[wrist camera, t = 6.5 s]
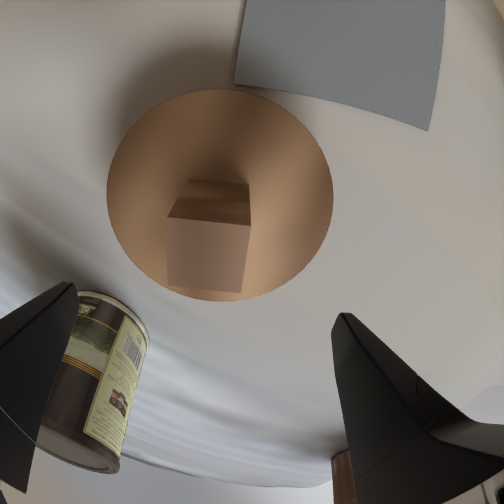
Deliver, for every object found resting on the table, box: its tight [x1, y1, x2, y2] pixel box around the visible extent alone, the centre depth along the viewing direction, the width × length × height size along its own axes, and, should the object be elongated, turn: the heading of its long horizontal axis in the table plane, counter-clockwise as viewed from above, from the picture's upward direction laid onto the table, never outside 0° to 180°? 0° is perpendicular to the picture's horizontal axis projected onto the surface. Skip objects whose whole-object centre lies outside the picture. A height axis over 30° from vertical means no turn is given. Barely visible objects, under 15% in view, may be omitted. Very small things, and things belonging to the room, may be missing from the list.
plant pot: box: [331, 449, 357, 504], centre depth 42 cm, size 16×16×16 cm
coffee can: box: [35, 291, 149, 474], centre depth 21 cm, size 10×10×14 cm
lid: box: [107, 89, 333, 302], centre depth 14 cm, size 13×13×6 cm
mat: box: [233, 0, 445, 131], centre depth 13 cm, size 14×14×1 cm
